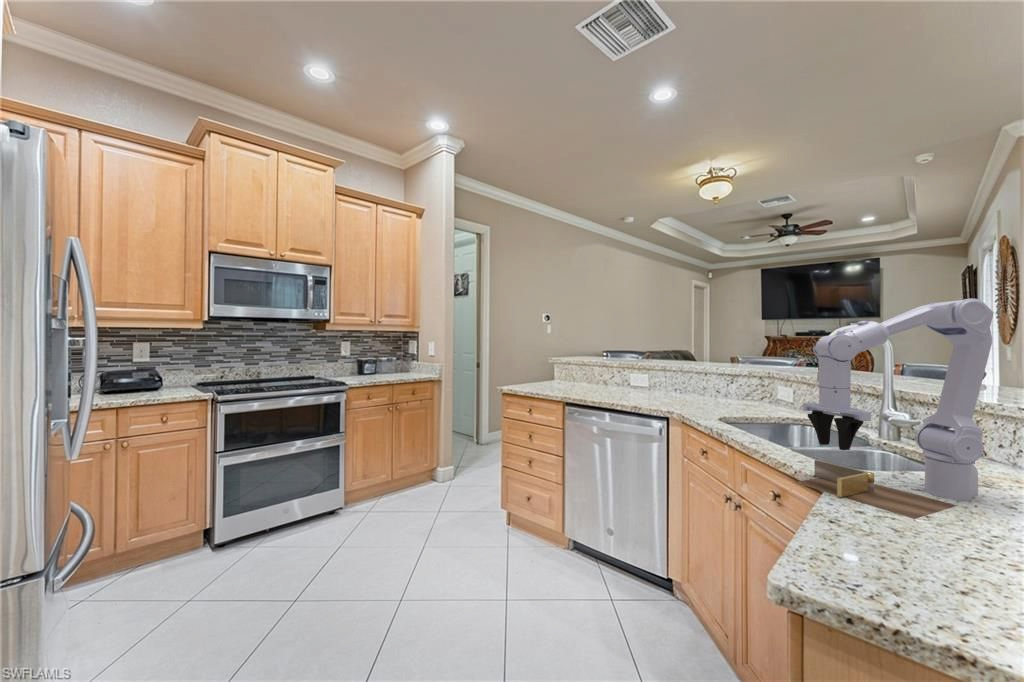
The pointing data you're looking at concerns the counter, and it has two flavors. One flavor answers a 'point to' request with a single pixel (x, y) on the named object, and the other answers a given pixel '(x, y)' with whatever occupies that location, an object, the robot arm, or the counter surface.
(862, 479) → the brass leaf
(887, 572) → the counter surface
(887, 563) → the counter surface
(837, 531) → the counter surface
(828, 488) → the hinge base
